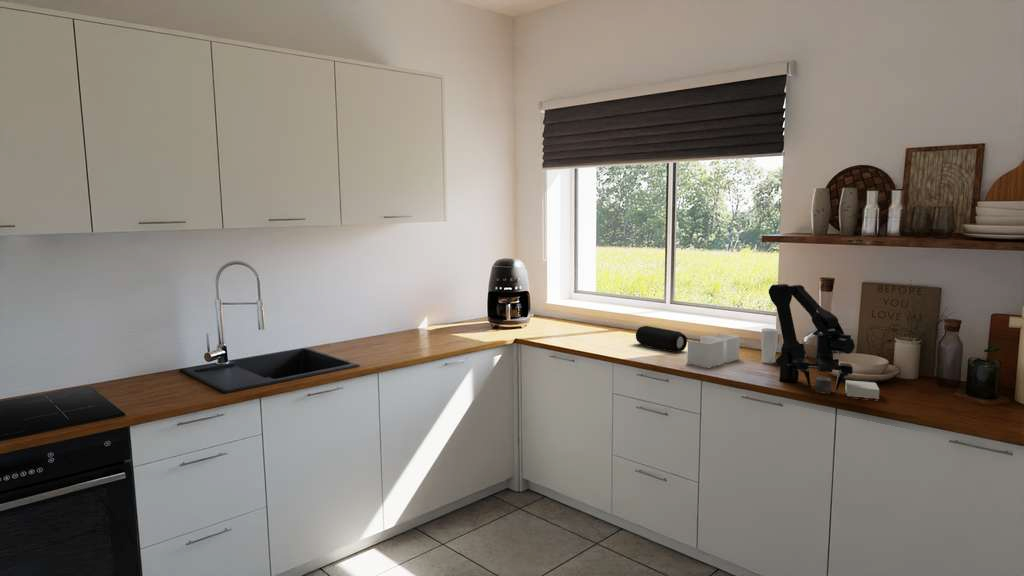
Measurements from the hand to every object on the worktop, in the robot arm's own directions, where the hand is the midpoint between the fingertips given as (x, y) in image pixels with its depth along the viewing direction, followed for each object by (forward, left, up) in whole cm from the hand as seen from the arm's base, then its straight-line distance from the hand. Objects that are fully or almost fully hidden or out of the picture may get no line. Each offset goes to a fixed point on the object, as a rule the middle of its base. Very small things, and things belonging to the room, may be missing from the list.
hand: (822, 388), depth 243 cm
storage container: (-43, +35, -2) cm, 55 cm away
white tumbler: (-20, +42, -1) cm, 46 cm away
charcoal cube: (0, 0, -1) cm, 1 cm away
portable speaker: (-70, +54, -1) cm, 88 cm away
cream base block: (+13, 0, -1) cm, 13 cm away
